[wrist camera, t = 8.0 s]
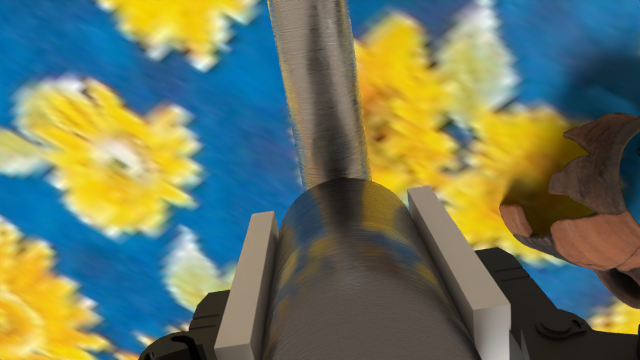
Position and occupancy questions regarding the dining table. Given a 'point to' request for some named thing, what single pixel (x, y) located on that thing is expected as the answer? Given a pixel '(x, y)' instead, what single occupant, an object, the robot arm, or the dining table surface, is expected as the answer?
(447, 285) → the robot arm
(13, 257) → the dining table surface
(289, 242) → the shaft
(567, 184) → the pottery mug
